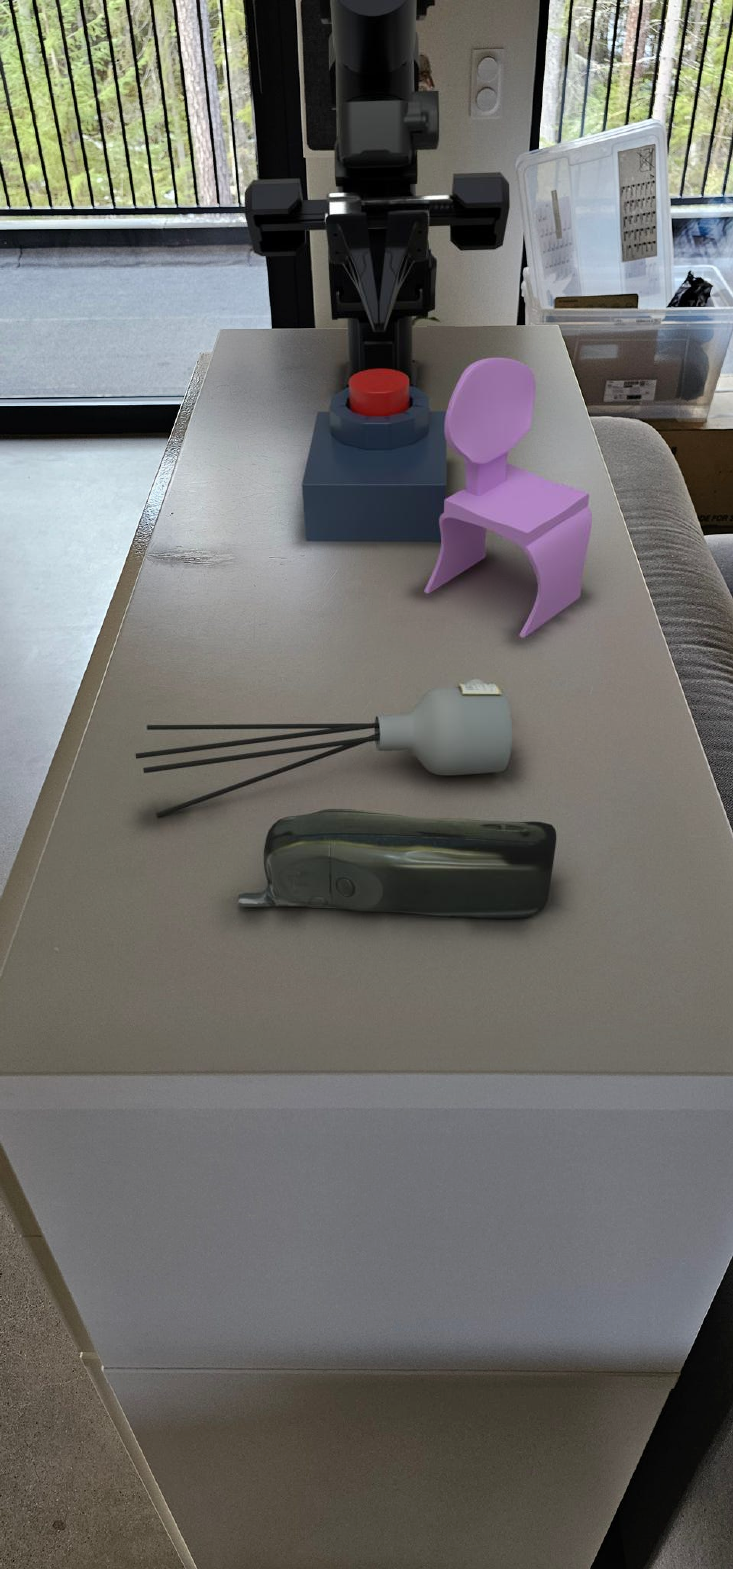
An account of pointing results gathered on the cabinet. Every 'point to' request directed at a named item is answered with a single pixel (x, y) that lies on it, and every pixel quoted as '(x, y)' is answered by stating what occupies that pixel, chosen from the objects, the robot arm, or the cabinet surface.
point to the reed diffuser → (389, 736)
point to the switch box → (376, 474)
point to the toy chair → (508, 490)
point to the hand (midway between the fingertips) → (379, 329)
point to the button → (379, 392)
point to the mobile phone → (407, 864)
